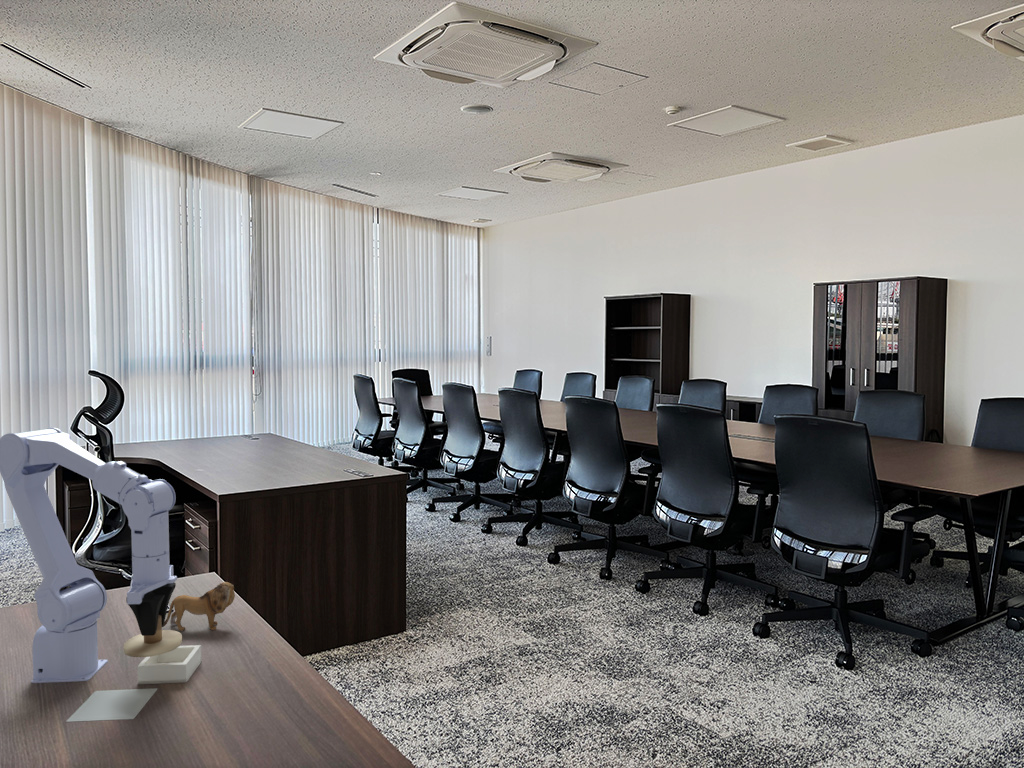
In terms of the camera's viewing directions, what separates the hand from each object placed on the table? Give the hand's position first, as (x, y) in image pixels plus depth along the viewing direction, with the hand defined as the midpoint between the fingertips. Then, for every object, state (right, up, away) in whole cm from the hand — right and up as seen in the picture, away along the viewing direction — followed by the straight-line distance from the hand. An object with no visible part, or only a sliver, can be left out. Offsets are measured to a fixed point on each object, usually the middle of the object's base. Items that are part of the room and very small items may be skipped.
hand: (152, 630), depth 126 cm
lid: (0, -3, 0) cm, 3 cm away
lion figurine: (-3, -8, +26) cm, 28 cm away
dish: (+1, -9, +4) cm, 10 cm away
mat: (-3, -10, -7) cm, 13 cm away
